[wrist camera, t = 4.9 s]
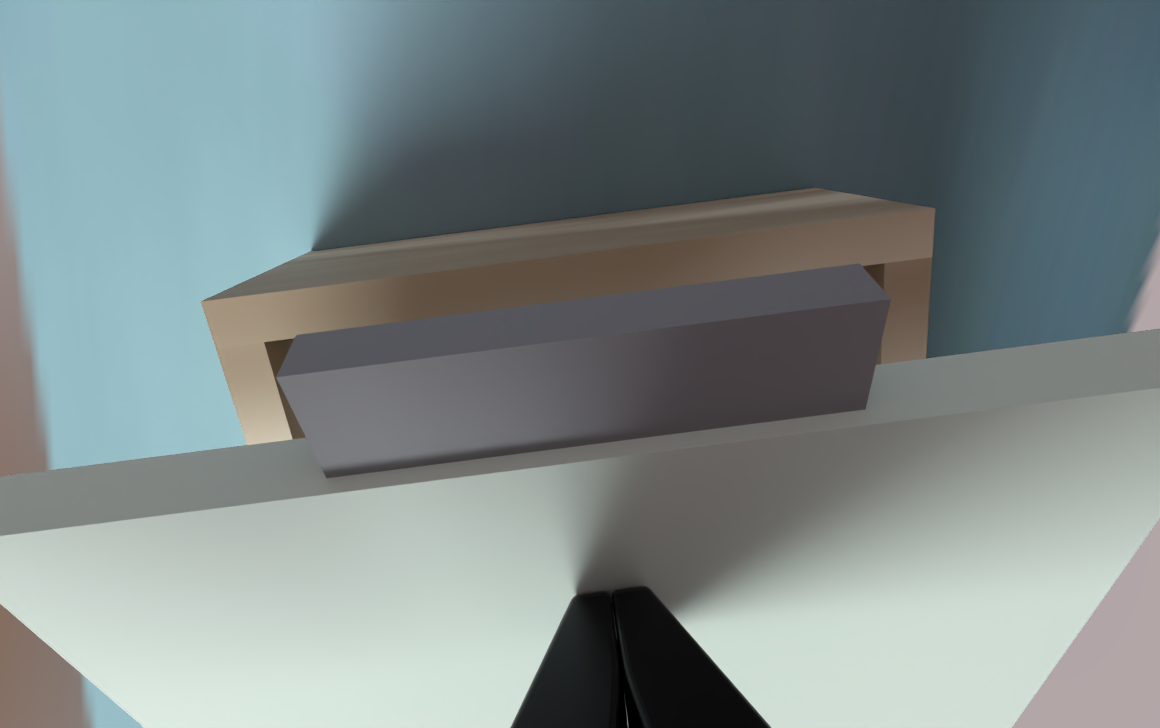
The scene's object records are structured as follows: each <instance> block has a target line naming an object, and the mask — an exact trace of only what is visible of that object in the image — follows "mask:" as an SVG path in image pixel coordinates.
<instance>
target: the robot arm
mask: <svg viewBox="0 0 1160 728" xmlns="http://www.w3.org/2000/svg"><path fill="white" fill-rule="evenodd" d="M612 605H613V609H612ZM613 613H614V616H613ZM614 621H615V623H614ZM615 629H616V630H615ZM626 713H627V714H626ZM627 720H628V722H627ZM510 728H772V727H771V726H770V725H769V724H768V723H767V722H766V721H765V719H764V718H763V717H762V716H761V715H760V714H759V713H758V711H757V710H756V709H755V708H754V707H753V706H752V705H751V703H750V702H749V701H748V700H747V699H746V698H745V697H744V695H743V694H742V693H741V692H740V691H739V690H738V689H737V687H736V686H735V685H734V684H733V683H732V682H731V681H730V679H729V678H728V677H727V676H726V675H725V674H724V673H723V671H722V670H721V669H720V668H719V667H718V666H717V665H716V663H715V662H714V661H713V660H712V659H711V658H710V657H709V655H708V654H707V653H706V652H705V651H704V650H703V649H702V647H701V646H700V645H699V644H698V643H697V642H696V640H695V639H694V638H693V637H692V636H691V635H690V634H689V632H688V631H687V630H686V629H685V628H684V627H683V626H682V624H681V623H680V622H679V621H678V620H677V619H676V618H675V616H674V615H673V614H672V613H671V612H670V611H669V610H668V608H667V607H666V606H665V605H664V604H663V603H662V602H661V600H660V599H659V598H658V597H657V596H656V595H655V594H654V592H653V591H652V590H651V589H650V588H648V587H646V586H638V587H630V588H623V589H617V590H615V591H613V593H612V602H611V596H610V594H609V593H608V592H606V591H600V592H592V593H584V594H578V595H575V596H574V597H573V598H572V599H571V601H570V603H569V605H568V607H567V609H566V611H565V613H564V616H563V618H562V620H561V622H560V624H559V626H558V628H557V630H556V632H555V635H554V637H553V639H552V641H551V643H550V645H549V647H548V649H547V651H546V653H545V656H544V658H543V660H542V662H541V664H540V666H539V668H538V670H537V672H536V675H535V677H534V679H533V681H532V683H531V685H530V687H529V689H528V691H527V694H526V696H525V698H524V700H523V702H522V704H521V706H520V708H519V710H518V713H517V715H516V717H515V719H514V721H513V723H512V725H511V727H510Z"/></svg>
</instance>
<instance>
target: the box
mask: <svg viewBox="0 0 1160 728" xmlns="http://www.w3.org/2000/svg"><path fill="white" fill-rule="evenodd" d="M934 224H935V208H931V207H925V206H919V205H913V204H908V203H902V202H896V201H890V200H884V199H879V198H873V197H867V196H861V195H855V194H850V193H844V192H838V191H832V190H826V189H820V188H808V189H801V190H793V191H785V192H777V193H769V194H761V195H753V196H745V197H737V198H730V199H722V200H714V201H706V202H698V203H690V204H682V205H674V206H666V207H659V208H651V209H643V210H635V211H627V212H619V213H611V214H603V215H595V216H588V217H580V218H572V219H564V220H556V221H548V222H540V223H532V224H524V225H516V226H509V227H501V228H493V229H485V230H477V231H469V232H461V233H453V234H445V235H438V236H430V237H422V238H414V239H406V240H398V241H390V242H382V243H374V244H367V245H359V246H351V247H343V248H335V249H327V250H319V251H311V252H308V253H306V254H304V255H301V256H299V257H297V258H295V259H293V260H291V261H288V262H286V263H284V264H282V265H280V266H277V267H275V268H273V269H271V270H269V271H267V272H264V273H262V274H260V275H258V276H256V277H253V278H251V279H249V280H247V281H245V282H242V283H240V284H238V285H236V286H234V287H232V288H229V289H227V290H225V291H223V292H221V293H218V294H216V295H214V296H212V297H210V298H207V299H205V300H203V301H201V303H202V307H203V310H204V313H205V316H206V319H207V322H208V325H209V328H210V331H211V334H212V338H213V341H214V344H215V347H216V350H217V353H218V356H219V359H220V362H221V365H222V369H223V372H224V375H225V378H226V381H227V384H228V387H229V390H230V393H231V396H232V400H233V403H234V406H235V409H236V412H237V415H238V418H239V421H240V424H241V428H242V431H243V434H244V437H245V440H246V443H247V445H253V444H261V443H268V442H276V441H284V440H292V439H300V438H306V436H305V434H304V432H303V430H302V428H301V426H300V424H299V422H298V420H297V418H296V416H295V414H294V412H293V410H292V408H291V406H290V404H289V402H288V400H287V398H286V396H285V394H284V392H283V390H282V388H281V386H280V384H279V382H278V380H277V378H276V377H277V374H278V372H279V370H280V368H281V366H282V364H283V362H284V360H285V358H286V355H287V353H288V351H289V349H290V347H291V345H292V343H293V341H294V339H295V337H296V335H300V334H308V333H315V332H323V331H331V330H339V329H347V328H355V327H363V326H371V325H378V324H386V323H394V322H402V321H410V320H418V319H426V318H433V317H441V316H449V315H457V314H465V313H473V312H481V311H489V310H496V309H504V308H512V307H520V306H528V305H536V304H544V303H551V302H559V301H567V300H575V299H583V298H591V297H599V296H607V295H614V294H622V293H630V292H638V291H646V290H654V289H662V288H669V287H677V286H685V285H693V284H701V283H709V282H717V281H725V280H732V279H740V278H748V277H756V276H764V275H772V274H780V273H787V272H795V271H803V270H811V269H819V268H827V267H835V266H843V265H850V264H858V263H860V264H861V265H862V267H863V268H864V269H865V270H866V271H867V272H868V273H869V275H870V276H871V277H872V278H873V279H874V280H875V281H876V282H877V284H878V285H879V286H880V287H881V288H882V289H883V290H884V292H885V293H886V294H887V295H888V296H889V297H890V298H891V302H890V306H889V310H888V315H887V319H886V323H885V328H884V332H883V336H882V341H881V345H880V349H879V353H878V358H877V362H876V365H880V364H888V363H895V362H903V361H911V360H919V359H926V352H927V336H928V320H929V304H930V288H931V272H932V256H933V240H934Z"/></svg>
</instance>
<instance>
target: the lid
mask: <svg viewBox="0 0 1160 728" xmlns="http://www.w3.org/2000/svg"><path fill="white" fill-rule="evenodd" d="M890 302H891V298H890V297H889V296H888V295H887V294H886V293H885V292H884V290H883V289H882V288H881V287H880V286H879V285H878V284H877V282H876V281H875V280H874V279H873V278H872V277H871V276H870V275H869V273H868V272H867V271H866V270H865V269H864V268H863V267H862V265H861V264H860V263H858V264H850V265H843V266H835V267H827V268H819V269H811V270H803V271H795V272H787V273H780V274H772V275H764V276H756V277H748V278H740V279H732V280H725V281H717V282H709V283H701V284H693V285H685V286H677V287H669V288H662V289H654V290H646V291H638V292H630V293H622V294H614V295H607V296H599V297H591V298H583V299H575V300H567V301H559V302H551V303H544V304H536V305H528V306H520V307H512V308H504V309H496V310H489V311H481V312H473V313H465V314H457V315H449V316H441V317H433V318H426V319H418V320H410V321H402V322H394V323H386V324H378V325H371V326H363V327H355V328H347V329H339V330H331V331H323V332H315V333H308V334H300V335H296V337H295V339H294V341H293V343H292V345H291V347H290V349H289V351H288V353H287V355H286V358H285V360H284V362H283V364H282V366H281V368H280V370H279V372H278V374H277V377H276V378H277V380H278V382H279V384H280V386H281V388H282V390H283V392H284V394H285V396H286V398H287V400H288V402H289V404H290V406H291V408H292V410H293V412H294V414H295V416H296V418H297V420H298V422H299V424H300V426H301V428H302V430H303V432H304V434H305V436H306V438H300V439H292V440H284V441H276V442H268V443H261V444H253V445H245V446H237V447H229V448H221V449H214V450H206V451H198V452H190V453H182V454H174V455H167V456H159V457H151V458H143V459H135V460H127V461H119V462H112V463H104V464H96V465H88V466H80V467H72V468H65V469H57V470H49V471H41V472H33V473H26V474H18V475H10V476H2V477H0V604H1V605H3V606H4V607H5V608H6V609H7V610H8V611H9V612H11V613H12V614H13V615H14V616H15V617H16V618H18V619H19V620H20V621H21V622H22V623H24V624H25V625H26V626H27V627H28V628H29V629H30V630H32V631H33V632H34V633H35V634H36V635H37V636H38V637H40V638H41V639H42V640H43V641H44V642H45V643H47V644H48V645H49V646H50V647H51V648H53V649H54V650H55V651H56V652H57V653H58V654H59V655H60V656H62V657H63V658H64V659H65V660H66V661H67V662H69V663H70V664H71V665H72V666H73V667H74V668H76V669H77V670H78V671H79V672H80V673H81V674H83V675H84V676H85V677H86V678H87V679H88V680H89V681H91V682H92V683H93V684H94V685H95V686H96V687H98V688H99V689H100V690H101V691H102V692H103V693H105V694H106V695H107V696H108V697H109V698H110V699H112V700H113V701H114V702H115V703H116V704H117V705H118V706H120V707H121V708H122V709H123V710H124V711H125V712H127V713H128V714H129V715H130V716H131V717H132V718H134V719H135V720H136V721H137V722H138V723H139V724H141V725H142V726H143V727H144V728H510V727H511V725H512V723H513V721H514V719H515V717H516V715H517V713H518V710H519V708H520V706H521V704H522V702H523V700H524V698H525V696H526V694H527V691H528V689H529V687H530V685H531V683H532V681H533V679H534V677H535V675H536V672H537V670H538V668H539V666H540V664H541V662H542V660H543V658H544V656H545V653H546V651H547V649H548V647H549V645H550V643H551V641H552V639H553V637H554V635H555V632H556V630H557V628H558V626H559V624H560V622H561V620H562V618H563V616H564V613H565V611H566V609H567V607H568V605H569V603H570V601H571V599H572V598H573V597H574V596H575V595H578V594H584V593H592V592H600V591H606V592H608V593H609V594H610V596H611V602H612V593H613V591H615V590H617V589H623V588H630V587H638V586H646V587H648V588H650V589H651V590H652V591H653V592H654V594H655V595H656V596H657V597H658V598H659V599H660V600H661V602H662V603H663V604H664V605H665V606H666V607H667V608H668V610H669V611H670V612H671V613H672V614H673V615H674V616H675V618H676V619H677V620H678V621H679V622H680V623H681V624H682V626H683V627H684V628H685V629H686V630H687V631H688V632H689V634H690V635H691V636H692V637H693V638H694V639H695V640H696V642H697V643H698V644H699V645H700V646H701V647H702V649H703V650H704V651H705V652H706V653H707V654H708V655H709V657H710V658H711V659H712V660H713V661H714V662H715V663H716V665H717V666H718V667H719V668H720V669H721V670H722V671H723V673H724V674H725V675H726V676H727V677H728V678H729V679H730V681H731V682H732V683H733V684H734V685H735V686H736V687H737V689H738V690H739V691H740V692H741V693H742V694H743V695H744V697H745V698H746V699H747V700H748V701H749V702H750V703H751V705H752V706H753V707H754V708H755V709H756V710H757V711H758V713H759V714H760V715H761V716H762V717H763V718H764V719H765V721H766V722H767V723H768V724H769V725H770V726H771V727H772V728H1012V727H1013V725H1014V724H1015V723H1016V721H1017V720H1018V718H1019V717H1020V716H1021V714H1022V713H1023V711H1024V710H1025V709H1026V707H1027V706H1028V704H1029V703H1030V702H1031V700H1032V699H1033V697H1034V696H1035V694H1036V693H1037V691H1038V690H1039V689H1040V687H1041V686H1042V685H1043V683H1044V681H1045V680H1046V679H1047V677H1048V676H1049V674H1050V673H1051V672H1052V670H1053V669H1054V668H1055V666H1056V665H1057V663H1058V662H1059V660H1060V659H1061V658H1062V656H1063V655H1064V653H1065V652H1066V651H1067V649H1068V648H1069V646H1070V645H1071V643H1072V642H1073V641H1074V639H1075V638H1076V636H1077V635H1078V633H1079V632H1080V631H1081V629H1082V628H1083V626H1084V625H1085V624H1086V622H1087V621H1088V619H1089V618H1090V617H1091V615H1092V614H1093V612H1094V611H1095V609H1096V608H1097V607H1098V605H1099V604H1100V602H1101V601H1102V599H1103V598H1104V597H1105V595H1106V594H1107V592H1108V591H1109V590H1110V588H1111V587H1112V585H1113V584H1114V582H1115V581H1116V579H1117V578H1118V577H1119V575H1120V574H1121V573H1122V571H1123V570H1124V568H1125V567H1126V566H1127V564H1128V563H1129V561H1130V560H1131V558H1132V557H1133V555H1134V554H1135V553H1136V551H1137V550H1138V548H1139V547H1140V546H1141V544H1142V543H1143V541H1144V540H1145V539H1146V537H1147V536H1148V534H1149V533H1150V532H1151V530H1152V529H1153V527H1154V526H1155V524H1156V523H1157V522H1158V520H1159V519H1160V329H1154V330H1146V331H1138V332H1130V333H1123V334H1115V335H1107V336H1099V337H1091V338H1083V339H1076V340H1068V341H1060V342H1052V343H1044V344H1036V345H1029V346H1021V347H1013V348H1005V349H997V350H989V351H982V352H974V353H966V354H958V355H950V356H942V357H935V358H927V359H919V360H911V361H903V362H895V363H888V364H880V365H876V362H877V358H878V353H879V349H880V345H881V341H882V336H883V332H884V328H885V323H886V319H887V315H888V310H889V306H890ZM612 609H613V605H612ZM613 616H614V613H613ZM614 623H615V621H614ZM615 630H616V629H615ZM626 714H627V713H626ZM627 722H628V720H627Z"/></svg>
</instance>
